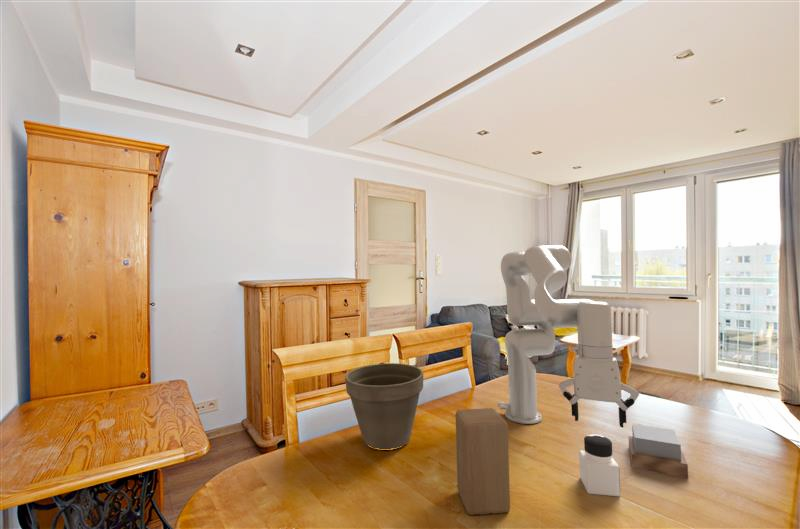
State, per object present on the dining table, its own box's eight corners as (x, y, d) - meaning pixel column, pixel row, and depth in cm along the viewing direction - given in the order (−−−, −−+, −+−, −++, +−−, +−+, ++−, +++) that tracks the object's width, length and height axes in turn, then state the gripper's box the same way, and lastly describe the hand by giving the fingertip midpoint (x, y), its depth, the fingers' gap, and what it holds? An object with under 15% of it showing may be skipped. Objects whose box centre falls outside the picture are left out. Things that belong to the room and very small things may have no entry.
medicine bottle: (620, 497, 86) (619, 445, 86) (587, 494, 88) (586, 443, 88) (610, 480, 93) (608, 432, 93) (579, 477, 95) (578, 430, 95)
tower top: (635, 452, 100) (634, 437, 100) (632, 437, 109) (632, 423, 109) (681, 460, 95) (680, 444, 95) (674, 444, 104) (673, 429, 104)
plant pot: (358, 468, 102) (356, 389, 102) (339, 432, 125) (337, 368, 125) (438, 450, 111) (436, 377, 111) (407, 419, 134) (405, 359, 134)
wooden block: (456, 490, 90) (454, 408, 91) (496, 487, 91) (494, 406, 92) (467, 517, 80) (465, 425, 81) (511, 514, 81) (509, 422, 82)
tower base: (632, 469, 99) (631, 454, 99) (629, 449, 110) (628, 435, 110) (688, 480, 93) (687, 464, 93) (678, 458, 104) (678, 444, 104)
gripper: (555, 352, 92) (558, 422, 91) (638, 357, 83) (642, 434, 83) (558, 346, 98) (561, 411, 98) (635, 351, 90) (638, 422, 89)
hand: (598, 422), depth 90 cm, fingers open, 9 cm apart
